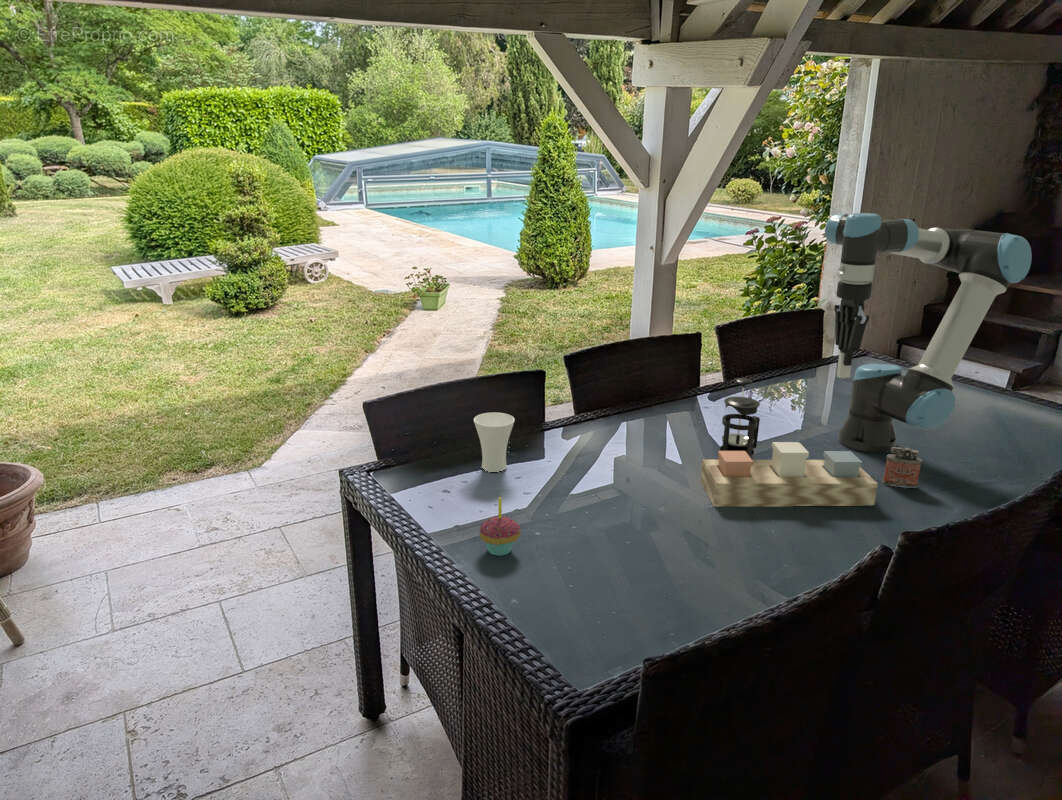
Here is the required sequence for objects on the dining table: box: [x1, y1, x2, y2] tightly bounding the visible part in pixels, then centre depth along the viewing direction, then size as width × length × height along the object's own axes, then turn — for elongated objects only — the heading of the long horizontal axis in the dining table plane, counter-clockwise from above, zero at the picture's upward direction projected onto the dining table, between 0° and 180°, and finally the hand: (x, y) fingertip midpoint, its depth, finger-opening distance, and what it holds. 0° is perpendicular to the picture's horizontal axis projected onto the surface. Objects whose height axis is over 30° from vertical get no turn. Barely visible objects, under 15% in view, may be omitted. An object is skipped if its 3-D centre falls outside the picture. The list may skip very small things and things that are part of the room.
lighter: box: [881, 446, 923, 487], centre depth 192 cm, size 8×3×10 cm, turn 71°
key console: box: [699, 459, 879, 508], centre depth 187 cm, size 38×14×6 cm, turn 92°
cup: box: [473, 411, 516, 473], centre depth 197 cm, size 10×10×14 cm
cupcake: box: [479, 493, 522, 557], centre depth 158 cm, size 9×8×12 cm
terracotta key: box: [717, 450, 753, 477], centre depth 185 cm, size 7×7×6 cm
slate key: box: [822, 450, 863, 477], centre depth 186 cm, size 7×7×6 cm
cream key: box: [771, 441, 810, 477], centre depth 185 cm, size 7×7×6 cm
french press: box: [717, 377, 761, 460], centre depth 203 cm, size 12×9×23 cm
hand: (843, 376), depth 188 cm, fingers closed
